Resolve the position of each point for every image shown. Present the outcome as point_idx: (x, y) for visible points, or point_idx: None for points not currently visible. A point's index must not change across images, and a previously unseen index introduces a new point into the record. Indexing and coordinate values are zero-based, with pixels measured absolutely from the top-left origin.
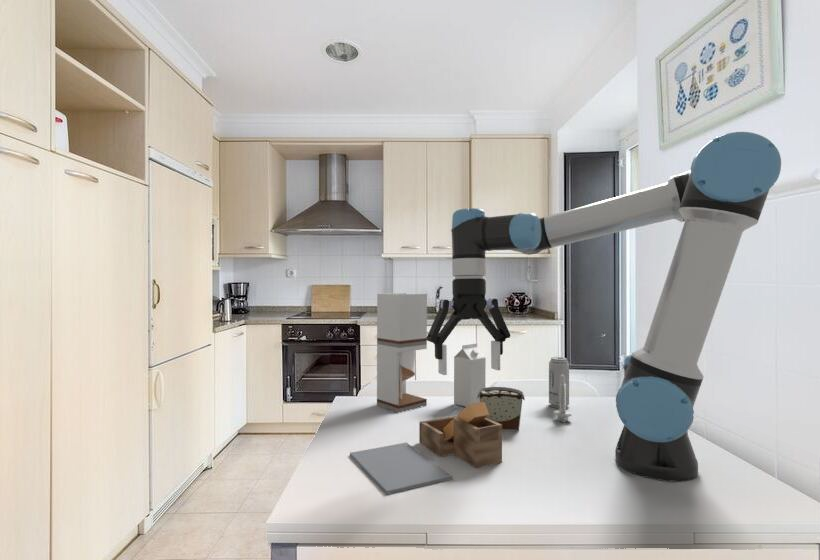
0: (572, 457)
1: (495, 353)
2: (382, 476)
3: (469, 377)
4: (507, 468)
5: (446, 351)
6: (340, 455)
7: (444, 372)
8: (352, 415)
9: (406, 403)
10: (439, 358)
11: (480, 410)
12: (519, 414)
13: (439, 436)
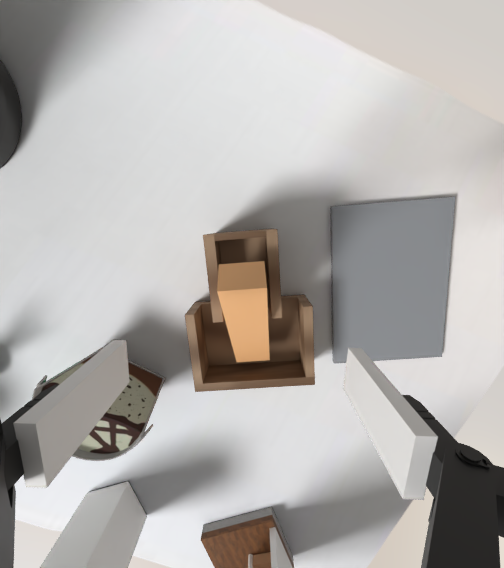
0: (81, 201)
1: (88, 392)
2: (436, 249)
3: (93, 560)
4: (221, 207)
5: (395, 407)
6: (451, 360)
7: (361, 353)
8: (357, 520)
9: (252, 528)
10: (405, 398)
11: (239, 273)
12: (80, 363)
13: (311, 305)
